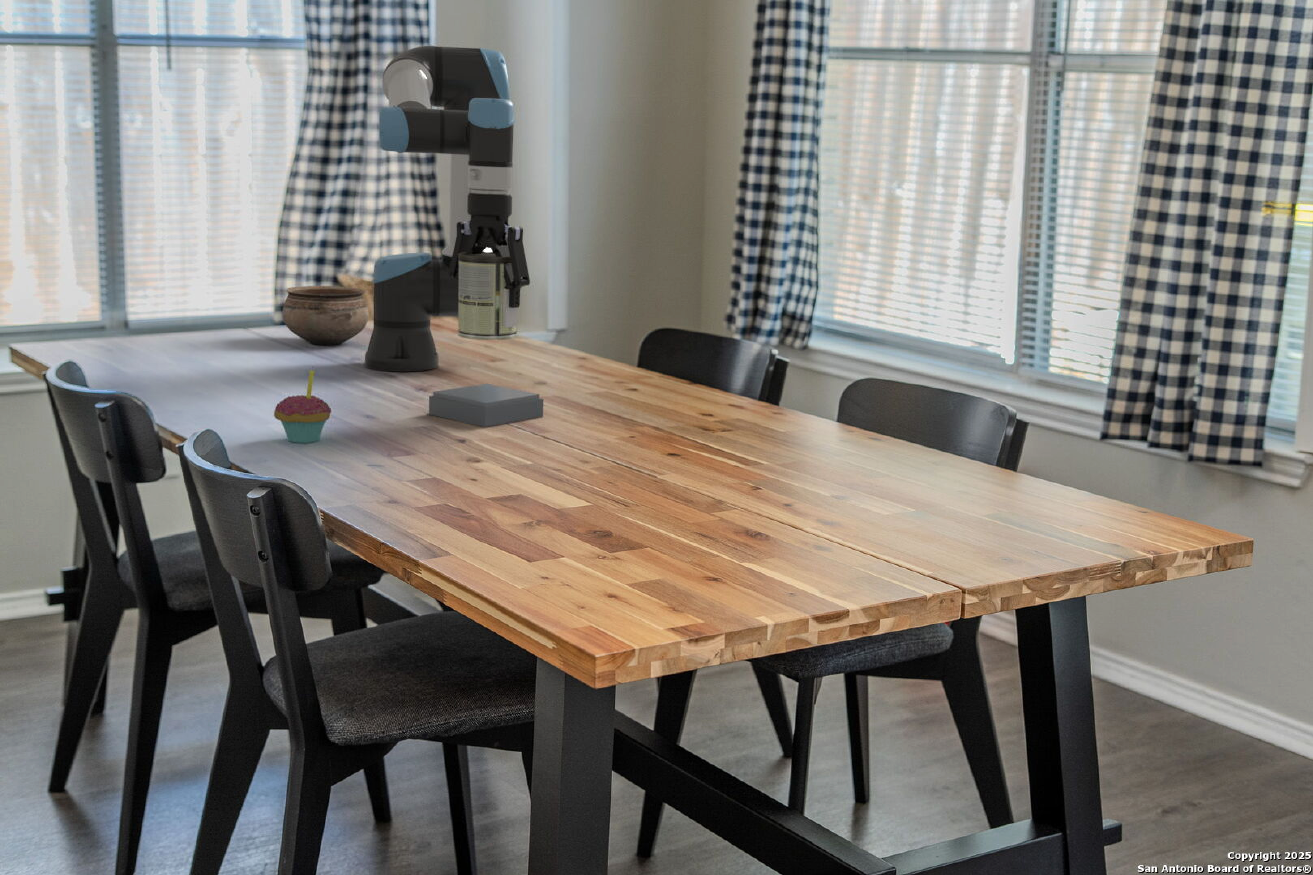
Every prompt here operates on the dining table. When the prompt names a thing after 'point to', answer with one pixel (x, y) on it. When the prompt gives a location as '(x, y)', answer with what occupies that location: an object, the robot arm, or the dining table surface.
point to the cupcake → (303, 415)
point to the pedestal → (485, 405)
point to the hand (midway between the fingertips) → (487, 323)
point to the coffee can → (482, 297)
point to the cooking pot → (325, 313)
